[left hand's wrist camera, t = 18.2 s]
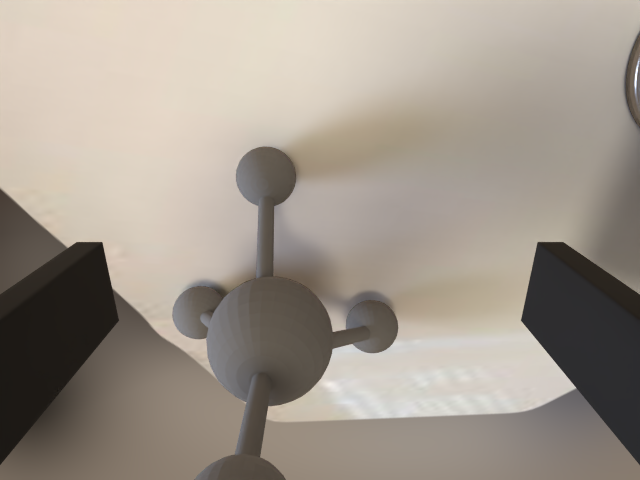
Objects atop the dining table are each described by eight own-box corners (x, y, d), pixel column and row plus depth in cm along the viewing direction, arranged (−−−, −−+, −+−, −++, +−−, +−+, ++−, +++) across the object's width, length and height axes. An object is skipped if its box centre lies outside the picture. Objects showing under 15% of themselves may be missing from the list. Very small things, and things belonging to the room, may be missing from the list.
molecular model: (393, 134, 39) (574, 278, 11) (392, 329, 47) (496, 691, 20) (150, 149, 40) (-246, 322, 12) (190, 340, 48) (11, 706, 20)
